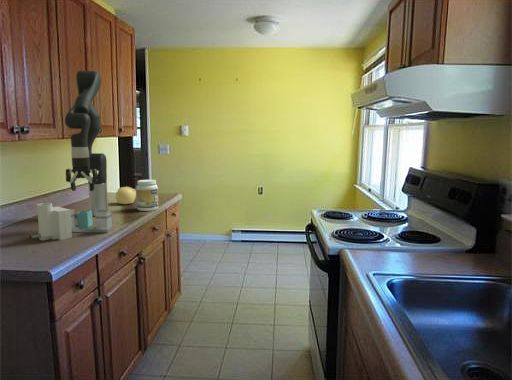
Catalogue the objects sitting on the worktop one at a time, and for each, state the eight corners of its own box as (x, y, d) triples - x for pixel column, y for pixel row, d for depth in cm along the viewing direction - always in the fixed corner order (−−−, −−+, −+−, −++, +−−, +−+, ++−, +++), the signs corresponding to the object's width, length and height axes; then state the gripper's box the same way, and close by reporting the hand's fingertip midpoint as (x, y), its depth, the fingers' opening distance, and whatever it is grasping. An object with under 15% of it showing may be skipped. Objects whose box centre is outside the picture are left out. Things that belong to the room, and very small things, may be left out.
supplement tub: (156, 211, 218) (155, 181, 215) (134, 211, 217) (133, 182, 214) (160, 207, 230) (159, 179, 227) (139, 207, 229) (138, 179, 226)
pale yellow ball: (138, 202, 246) (138, 185, 244) (130, 205, 234) (129, 188, 232) (121, 201, 247) (120, 185, 245) (112, 205, 235) (111, 187, 234)
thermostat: (72, 237, 164) (69, 203, 161) (36, 245, 153) (33, 208, 151) (59, 232, 171) (56, 199, 169) (24, 239, 160) (21, 204, 158)
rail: (65, 229, 177) (63, 209, 176) (112, 229, 176) (111, 209, 175) (58, 232, 172) (57, 211, 170) (107, 232, 171) (106, 212, 170)
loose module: (82, 224, 187) (81, 209, 186) (92, 224, 187) (91, 209, 185) (77, 227, 182) (76, 211, 181) (88, 227, 182) (87, 211, 180)
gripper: (99, 156, 183) (101, 189, 185) (69, 155, 183) (72, 189, 185) (91, 157, 175) (94, 192, 178) (61, 157, 175) (63, 192, 178)
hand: (82, 190), depth 182 cm, fingers open, 8 cm apart
